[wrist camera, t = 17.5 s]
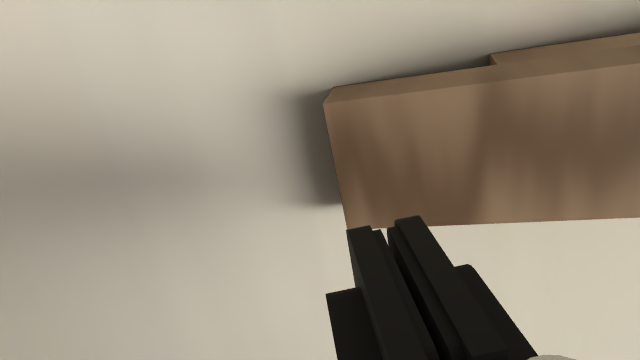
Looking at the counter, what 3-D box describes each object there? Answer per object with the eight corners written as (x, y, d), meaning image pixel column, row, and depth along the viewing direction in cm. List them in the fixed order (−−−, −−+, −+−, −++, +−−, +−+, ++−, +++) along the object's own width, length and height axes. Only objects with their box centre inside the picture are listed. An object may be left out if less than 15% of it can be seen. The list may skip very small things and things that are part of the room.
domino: (355, 203, 18) (630, 186, 15) (347, 229, 16) (655, 216, 14) (333, 87, 16) (648, 43, 13) (322, 103, 14) (682, 57, 11)
